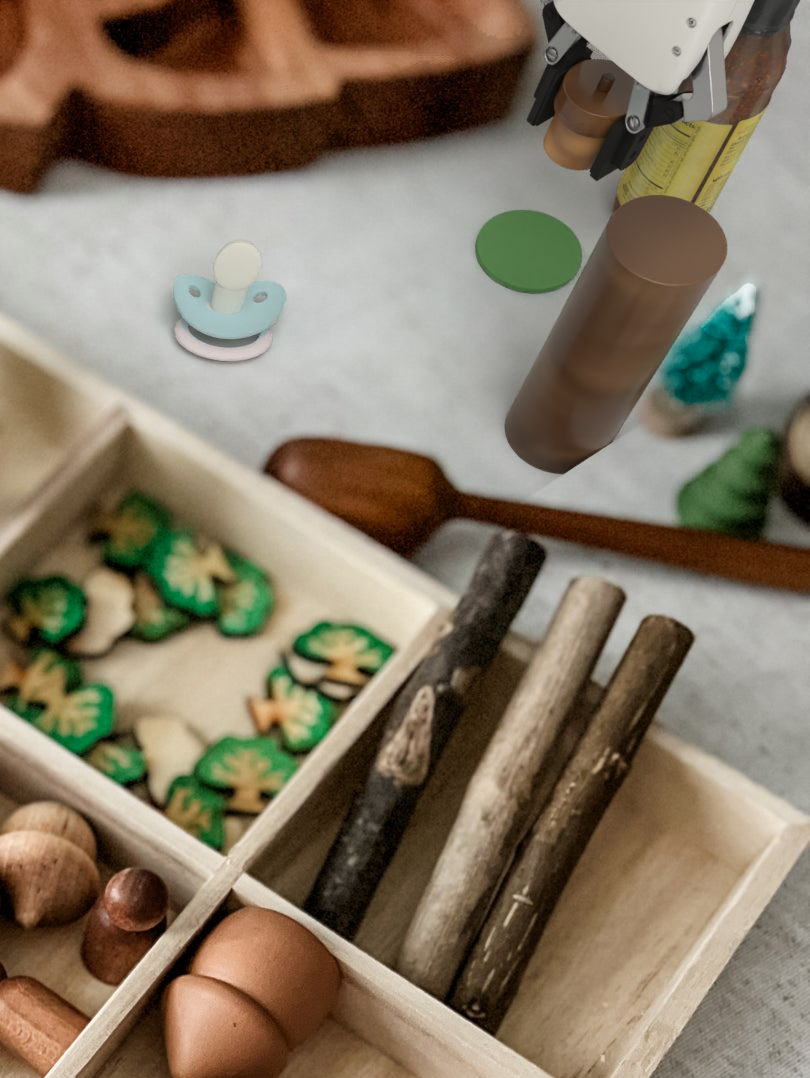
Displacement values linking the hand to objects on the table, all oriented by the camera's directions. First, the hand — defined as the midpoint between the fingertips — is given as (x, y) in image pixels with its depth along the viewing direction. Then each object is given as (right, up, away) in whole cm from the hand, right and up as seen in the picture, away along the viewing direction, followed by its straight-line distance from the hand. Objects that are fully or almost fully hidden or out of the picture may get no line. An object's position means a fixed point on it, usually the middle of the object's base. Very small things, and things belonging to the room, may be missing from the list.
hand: (578, 139), depth 106 cm
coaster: (0, -4, +8) cm, 9 cm away
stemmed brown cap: (0, 0, +1) cm, 1 cm away
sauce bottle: (+9, -1, +10) cm, 13 cm away
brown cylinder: (0, -17, +3) cm, 18 cm away
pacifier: (-21, -10, +6) cm, 24 cm away
